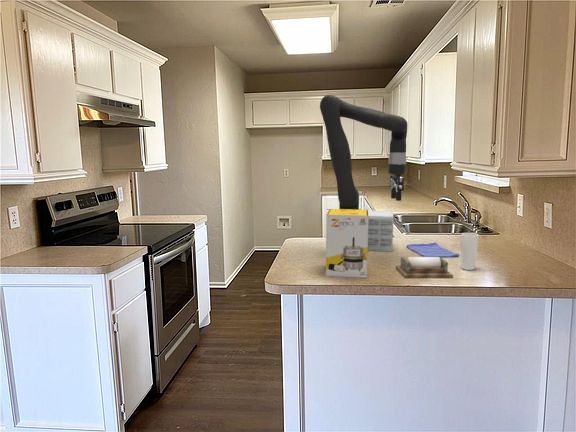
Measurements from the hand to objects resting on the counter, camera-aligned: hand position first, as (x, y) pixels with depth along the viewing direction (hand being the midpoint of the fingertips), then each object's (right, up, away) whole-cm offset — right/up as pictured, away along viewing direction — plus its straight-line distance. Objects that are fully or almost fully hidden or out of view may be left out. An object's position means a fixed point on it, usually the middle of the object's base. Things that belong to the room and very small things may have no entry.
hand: (395, 199), depth 187 cm
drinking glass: (+28, -30, -9) cm, 42 cm away
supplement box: (-1, -24, +30) cm, 39 cm away
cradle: (+7, -31, -15) cm, 35 cm away
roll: (+7, -30, -16) cm, 34 cm away
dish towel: (+23, -26, +20) cm, 40 cm away
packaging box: (-24, -31, -13) cm, 41 cm away
